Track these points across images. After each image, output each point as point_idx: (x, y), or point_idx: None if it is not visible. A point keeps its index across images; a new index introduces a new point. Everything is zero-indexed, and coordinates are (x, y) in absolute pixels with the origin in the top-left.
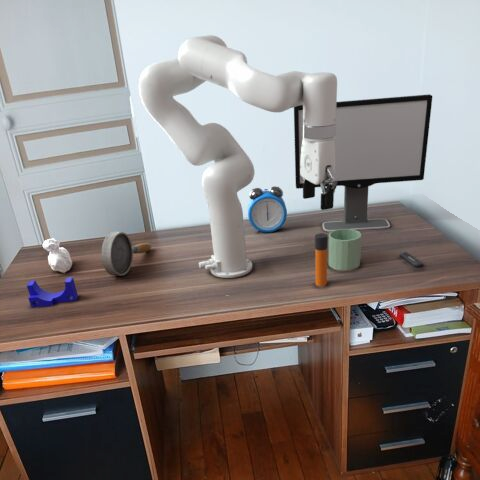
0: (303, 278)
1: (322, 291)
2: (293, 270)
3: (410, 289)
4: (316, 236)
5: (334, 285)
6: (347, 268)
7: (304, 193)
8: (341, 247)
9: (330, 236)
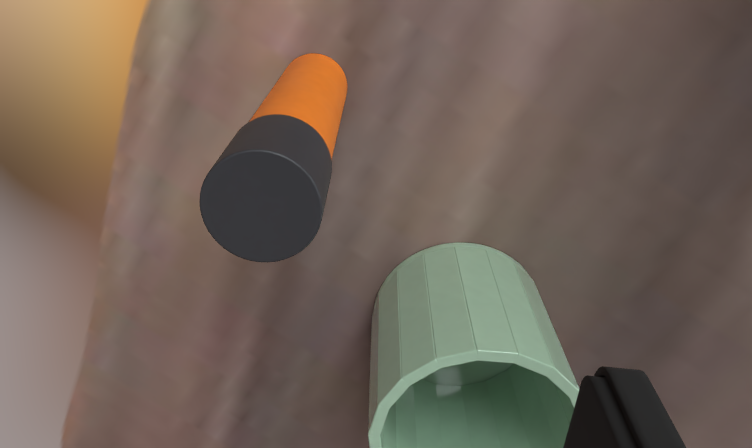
0: (456, 48)
1: (247, 52)
2: (591, 55)
3: (73, 396)
4: (259, 157)
5: None
6: (379, 298)
7: (616, 439)
8: (401, 346)
9: (517, 362)
